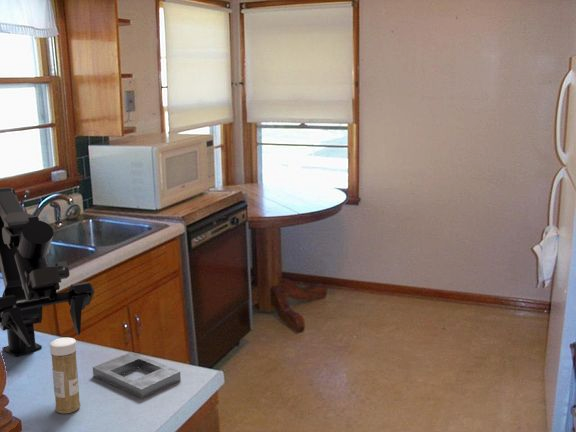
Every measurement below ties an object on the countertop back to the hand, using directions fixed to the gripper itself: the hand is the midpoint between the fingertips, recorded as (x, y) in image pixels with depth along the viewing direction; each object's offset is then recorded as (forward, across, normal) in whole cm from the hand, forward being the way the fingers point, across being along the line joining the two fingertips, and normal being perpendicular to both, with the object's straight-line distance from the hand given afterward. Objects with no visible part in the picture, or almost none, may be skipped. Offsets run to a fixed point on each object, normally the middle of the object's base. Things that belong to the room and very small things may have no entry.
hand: (54, 339), depth 116 cm
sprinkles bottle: (+12, 0, +5) cm, 13 cm away
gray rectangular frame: (+9, +15, +8) cm, 20 cm away
